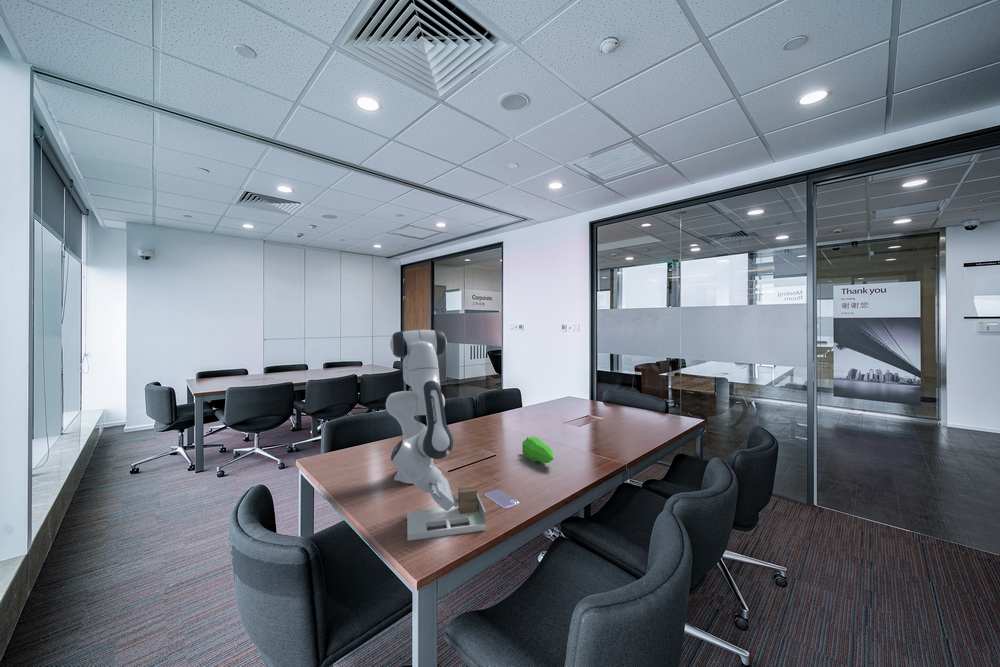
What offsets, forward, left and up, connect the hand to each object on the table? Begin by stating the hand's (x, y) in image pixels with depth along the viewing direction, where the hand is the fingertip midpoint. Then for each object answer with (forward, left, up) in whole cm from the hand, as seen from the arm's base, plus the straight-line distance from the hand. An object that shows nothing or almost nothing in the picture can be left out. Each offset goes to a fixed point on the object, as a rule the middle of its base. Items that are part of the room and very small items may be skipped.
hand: (457, 504), depth 131 cm
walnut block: (0, +4, -2) cm, 4 cm away
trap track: (+4, -5, -4) cm, 7 cm away
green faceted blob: (-46, +47, -5) cm, 66 cm away
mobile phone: (-10, +19, -5) cm, 22 cm away
